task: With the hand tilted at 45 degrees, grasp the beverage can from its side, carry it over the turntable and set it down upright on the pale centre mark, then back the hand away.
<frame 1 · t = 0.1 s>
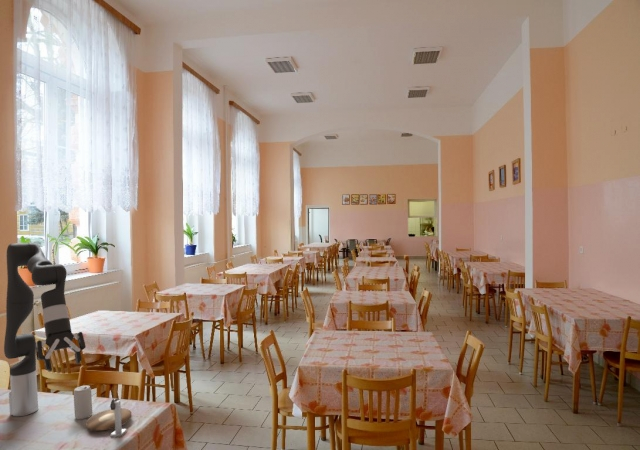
hand: (64, 367, 145), 31 cm above the table, tool tilted 20°, fingers open, 8 cm apart
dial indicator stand: (118, 434, 162), on the table
turntable: (109, 418, 170), point 2 cm above the table, hinge at 0.0°
beverage can: (83, 416, 178), on the table
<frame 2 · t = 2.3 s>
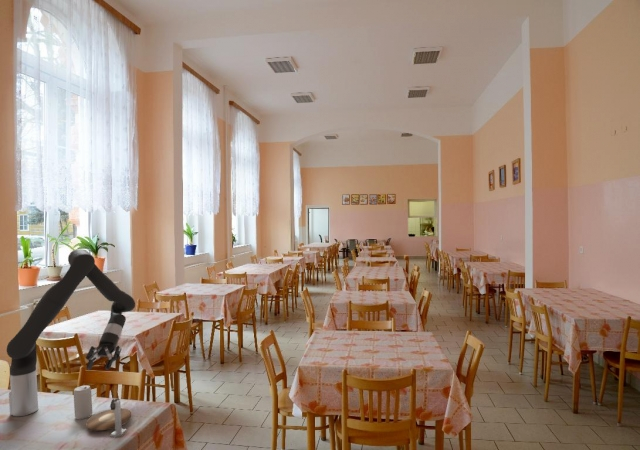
hand: (97, 369, 189), 16 cm above the table, tool tilted 45°, fingers open, 8 cm apart
nothing on the table moved.
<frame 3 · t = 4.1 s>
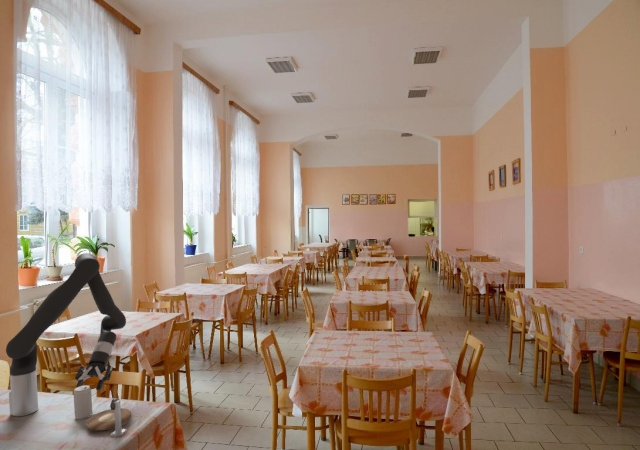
hand: (87, 390, 182), 10 cm above the table, tool tilted 45°, fingers open, 8 cm apart
nothing on the table moved.
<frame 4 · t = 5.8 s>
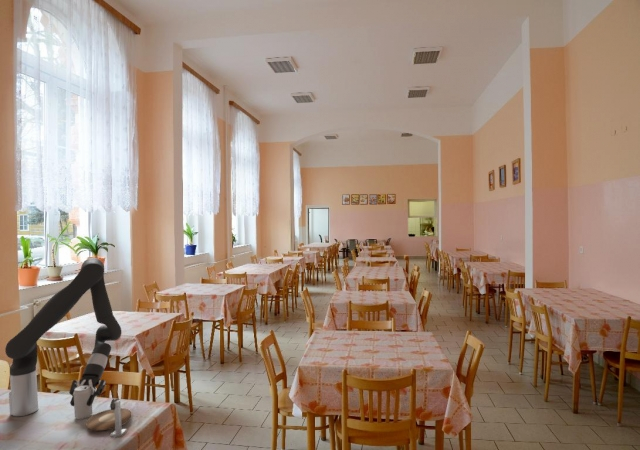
hand: (80, 405, 176), 5 cm above the table, tool tilted 45°, fingers closed on beverage can, 6 cm apart
beverage can: (83, 416, 178), on the table, touching gripper
everything else where it was.
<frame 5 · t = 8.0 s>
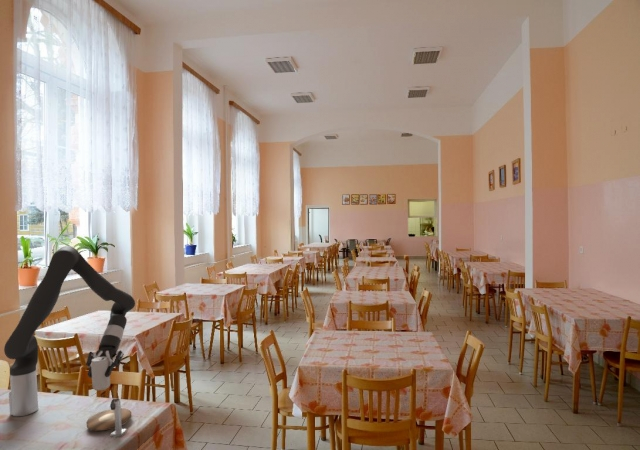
hand: (98, 376, 171), 19 cm above the table, tool tilted 45°, fingers closed on beverage can, 6 cm apart
beverage can: (101, 388, 173), point 13 cm above the table, touching gripper
everything else where it was.
when the fingers open (9 cm above the table, at t = 10.7 s): beverage can stays where it is, resting on turntable.
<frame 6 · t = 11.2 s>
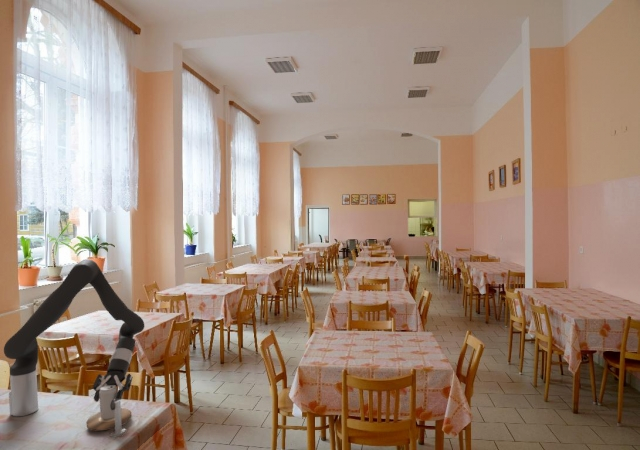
hand: (106, 400, 169), 10 cm above the table, tool tilted 45°, fingers open, 8 cm apart
turntable: (109, 418, 170), point 2 cm above the table, hinge at 0.0°, touching beverage can
beverage can: (109, 417, 171), point 2 cm above the table, touching turntable
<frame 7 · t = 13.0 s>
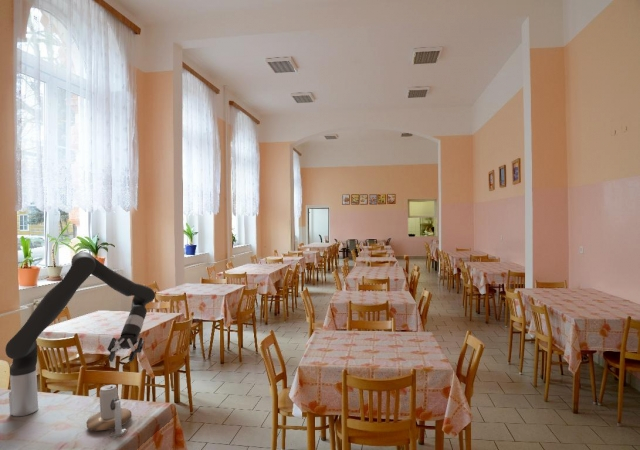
hand: (120, 361, 184), 20 cm above the table, tool tilted 45°, fingers open, 8 cm apart
nothing on the table moved.
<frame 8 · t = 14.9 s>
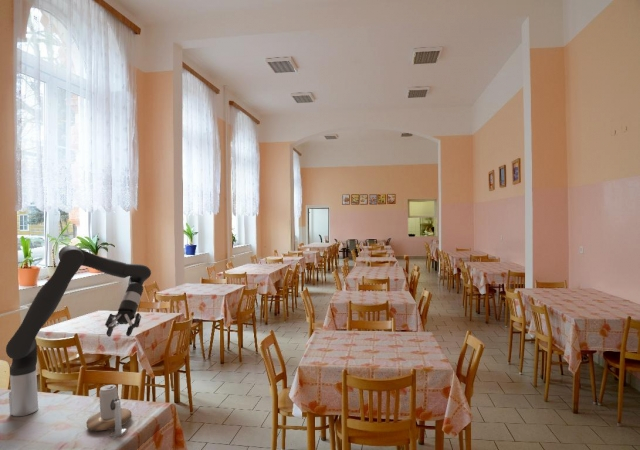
hand: (118, 335, 187), 31 cm above the table, tool tilted 45°, fingers open, 8 cm apart
nothing on the table moved.
at the end: beverage can 0.3 cm from the turntable (horizontally); beverage can tilted 0°; beverage can point 2.5 cm above the table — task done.
